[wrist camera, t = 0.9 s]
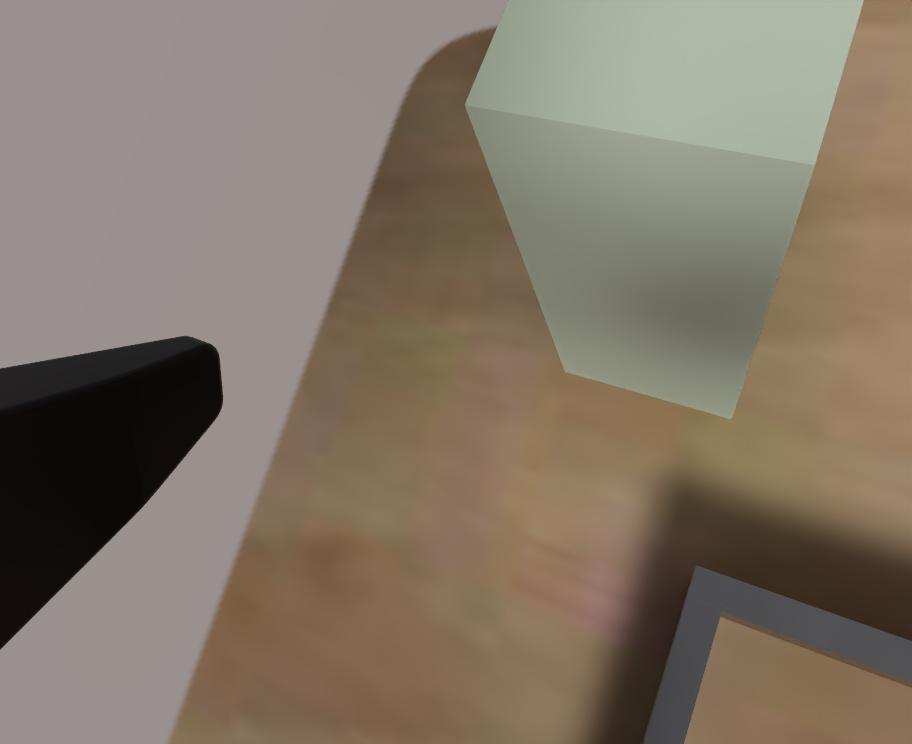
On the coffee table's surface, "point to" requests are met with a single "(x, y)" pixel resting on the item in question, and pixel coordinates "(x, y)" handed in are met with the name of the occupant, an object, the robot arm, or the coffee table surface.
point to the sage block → (658, 173)
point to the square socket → (769, 615)
